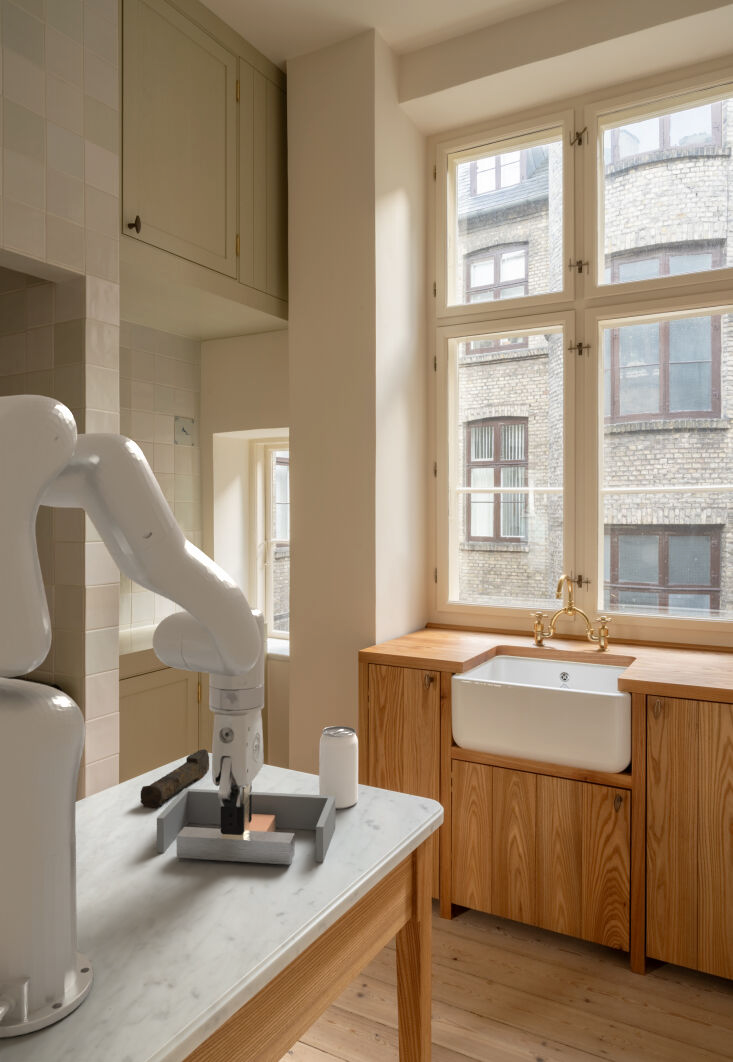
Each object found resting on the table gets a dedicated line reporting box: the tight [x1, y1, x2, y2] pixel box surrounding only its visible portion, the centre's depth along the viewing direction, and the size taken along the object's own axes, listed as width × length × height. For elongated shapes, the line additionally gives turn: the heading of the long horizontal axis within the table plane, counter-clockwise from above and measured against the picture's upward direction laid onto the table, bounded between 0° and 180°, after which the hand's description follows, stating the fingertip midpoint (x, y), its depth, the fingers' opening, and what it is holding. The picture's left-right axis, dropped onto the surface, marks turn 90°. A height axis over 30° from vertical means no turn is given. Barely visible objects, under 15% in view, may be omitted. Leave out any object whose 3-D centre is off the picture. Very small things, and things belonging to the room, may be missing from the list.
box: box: [156, 787, 336, 863], centre depth 109 cm, size 11×24×5 cm, turn 84°
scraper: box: [176, 781, 296, 865], centre depth 103 cm, size 3×16×10 cm, turn 84°
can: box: [318, 725, 359, 810], centre depth 123 cm, size 6×6×12 cm
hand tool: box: [140, 748, 210, 809], centre depth 129 cm, size 19×4×5 cm, turn 160°
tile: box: [249, 814, 276, 832], centre depth 109 cm, size 6×6×3 cm
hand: (236, 826), depth 103 cm, fingers closed on scraper, 3 cm apart
